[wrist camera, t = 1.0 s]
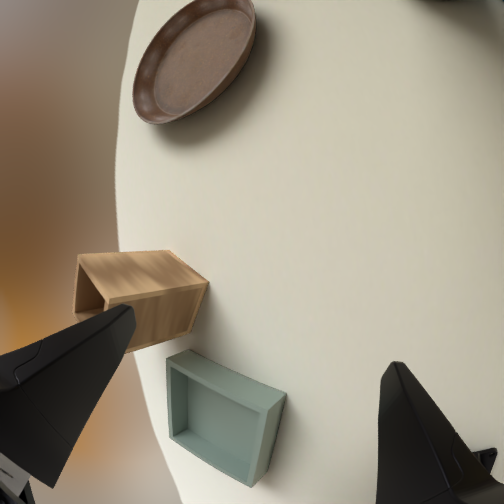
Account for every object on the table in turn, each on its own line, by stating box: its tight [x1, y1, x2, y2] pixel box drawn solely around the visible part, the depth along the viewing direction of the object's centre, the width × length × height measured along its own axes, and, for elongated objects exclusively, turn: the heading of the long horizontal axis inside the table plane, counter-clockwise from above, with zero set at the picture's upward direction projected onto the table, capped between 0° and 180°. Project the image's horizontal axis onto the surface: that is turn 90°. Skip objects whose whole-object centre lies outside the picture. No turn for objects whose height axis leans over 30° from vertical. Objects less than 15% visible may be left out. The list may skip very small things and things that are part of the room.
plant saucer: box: [132, 0, 256, 124], centre depth 24 cm, size 18×18×3 cm
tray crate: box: [166, 350, 286, 488], centre depth 23 cm, size 11×11×3 cm
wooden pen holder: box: [72, 250, 209, 354], centre depth 23 cm, size 6×6×10 cm
